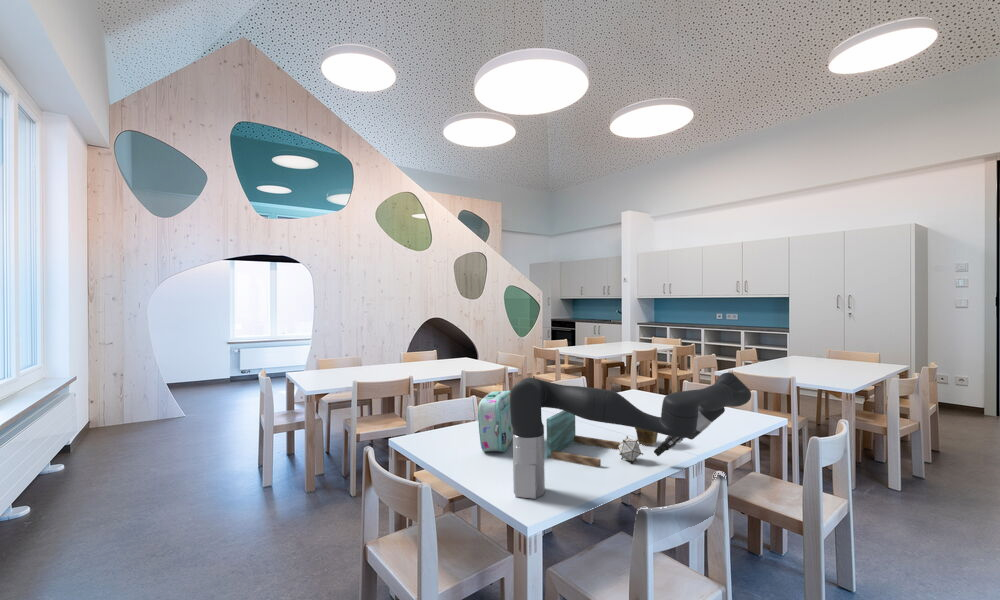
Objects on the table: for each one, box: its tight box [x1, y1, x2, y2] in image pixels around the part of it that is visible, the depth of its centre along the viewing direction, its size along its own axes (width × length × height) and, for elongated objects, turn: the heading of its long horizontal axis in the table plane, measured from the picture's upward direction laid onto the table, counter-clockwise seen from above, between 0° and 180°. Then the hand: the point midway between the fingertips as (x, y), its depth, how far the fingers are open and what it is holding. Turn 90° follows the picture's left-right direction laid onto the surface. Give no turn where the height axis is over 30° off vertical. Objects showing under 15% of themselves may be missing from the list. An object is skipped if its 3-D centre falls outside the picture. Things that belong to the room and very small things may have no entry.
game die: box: [616, 435, 644, 464], centre depth 159 cm, size 9×8×10 cm
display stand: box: [546, 410, 621, 468], centre depth 168 cm, size 20×23×14 cm
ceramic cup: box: [633, 427, 659, 447], centre depth 179 cm, size 13×10×10 cm
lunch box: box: [477, 390, 513, 453], centre depth 178 cm, size 27×10×21 cm, turn 168°
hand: (656, 453), depth 154 cm, fingers closed
